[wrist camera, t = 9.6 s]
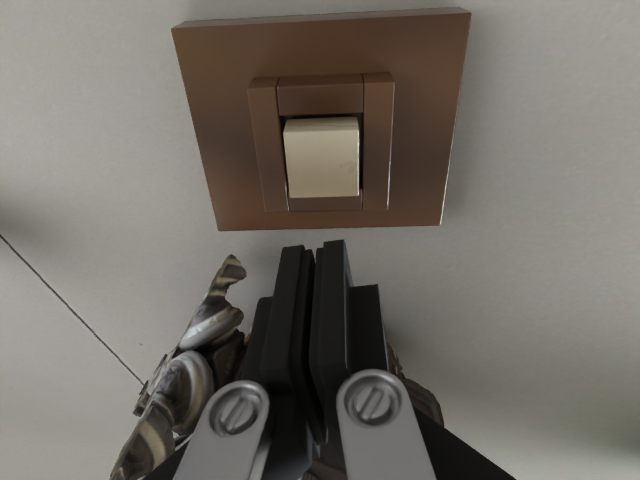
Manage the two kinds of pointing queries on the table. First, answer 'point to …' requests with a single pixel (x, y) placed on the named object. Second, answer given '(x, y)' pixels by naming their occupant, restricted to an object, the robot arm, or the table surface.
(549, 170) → the table surface
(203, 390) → the camera
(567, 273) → the table surface
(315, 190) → the key
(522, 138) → the table surface
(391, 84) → the brown light switch
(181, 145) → the table surface
